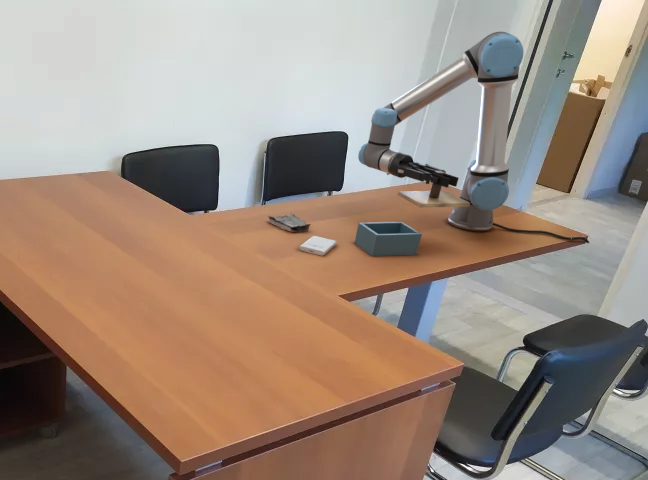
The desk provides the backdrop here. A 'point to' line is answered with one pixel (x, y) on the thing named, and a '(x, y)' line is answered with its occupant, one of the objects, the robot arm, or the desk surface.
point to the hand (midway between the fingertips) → (452, 182)
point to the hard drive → (317, 245)
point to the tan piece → (433, 197)
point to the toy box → (387, 238)
